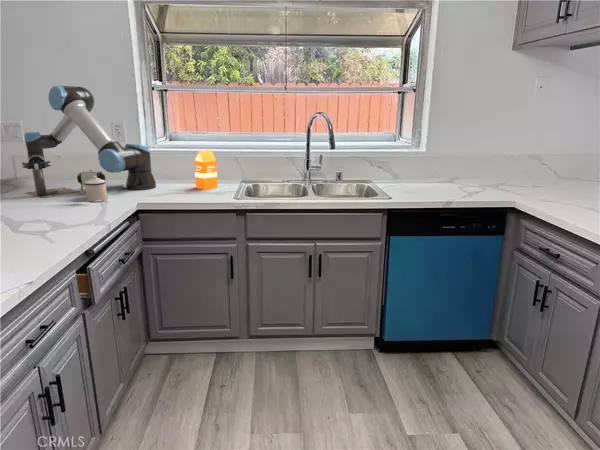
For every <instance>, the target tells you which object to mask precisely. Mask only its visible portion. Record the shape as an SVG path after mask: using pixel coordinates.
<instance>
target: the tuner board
mask: <svg viewBox="0 0 600 450" xmlns="http://www.w3.org/2000/svg"><path fill="white" fill-rule="evenodd" d="M57 188H58V187H56V188H55V187H54V188H48V189H47V188H46V192H47V191H53V190H55V189H57ZM59 188H63V190H64V192H62V193H52V194H47V195H44V196H37V193H36V190H35V191H29V192H24V194H26V195H30V196H33V197H36V198H41V199H46V198H52V197H57V196H64V195H69V194H70V195H71V194H76V193H81V190H75V189H71V188H67V187H59Z"/></svg>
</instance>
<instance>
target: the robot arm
mask: <svg viewBox="0 0 600 450" xmlns="http://www.w3.org/2000/svg"><path fill="white" fill-rule="evenodd" d="M48 102H49V106H50V107H51V109H53V110H55V111H61V112H62V114H63V115H64V116H63V117H62V118H61V120H60V121H59V122H58V123H57V125H56V126H55V128H54V129H53V130H52V131H51V133H50V134H41V133H40V132H39V131H37V132H36V131H31V132H29V131H28V132H25V133H24V134H23V135H24V143H25V146H26V151H27V158H28V162H22V163H21V164H22V168H23V169H27V170H32V171H33V170H35V169H43V170H44V169H46V168H49V167H52V166H51V160H48V161H46V160H45V154H44V149H55V148H54V147H56V146H57V145H58V144H60V143H62V141H64V140H65V139H66V138H68V137H69V136H70V134H71V133H72V132H73V131H74V129H75V128H76V127H78V128H79V129H80V131H81V132H83V133H82V134H84V135H85V136H86V137H87V139H88V140H89V141H90V142H91V143H92V144H93V146H94V147H95V148H96V149H97V154H98V158H97V159H98V161H99V162H98V163H99V166H100V167H101V168H102V169H103V170H104V171H106V172H108V173H121V172H125V171H127V178H126V182H125V186H126V189H127V190H131V191H141V190H150V189H155V188H156V187H157V182H156V181H155V177H154V175H153V173H152V163H151V152H150V147H149V145H147V144H137V143H136V144H135V143H125V146H123V145H122V144H121V143H120V142H119V141H118V140H113V139H112V137H111V136H110V135H109V134H108V133H107V132H106V130H105V129H104V128H103V127H102V125H100V123H99V122H98V121H97V120H96V118H94V116H93V115H92V114H91V112H92V110H93V108H94V106H95V98H94V95H93V93H92V92H91V91H90V90H89V89H87V88H85V87H82V86H70V85H69V86H68V85H53V86H52V87H51V88H50V90H49V92H48ZM68 135H69V136H68Z"/></svg>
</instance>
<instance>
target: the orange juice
mask: <svg viewBox="0 0 600 450" xmlns="http://www.w3.org/2000/svg"><path fill="white" fill-rule="evenodd" d="M217 167H218V166H217V160H216V158H215V155H214V153H213V151H212V149H207V150H198V151H197V153H196V156H195V159H194V177H195V188H196V189H200V190H205V191H206V190H210V189H215V188H218V172H217V171H218V169H217Z"/></svg>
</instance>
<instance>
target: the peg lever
mask: <svg viewBox="0 0 600 450" xmlns="http://www.w3.org/2000/svg"><path fill="white" fill-rule="evenodd" d="M43 170H44V168H43V169H35V170H33V169H32V175H33V181H34V188H35V191H36V193H37V196H44V195H47V194H52V193H62V192H64V190H63V188H64V187H63V188H60V187H56V188H57V189H55V190H53V191H47V192H46V190H47V187H46V183H45V176H44V171H43Z"/></svg>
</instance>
